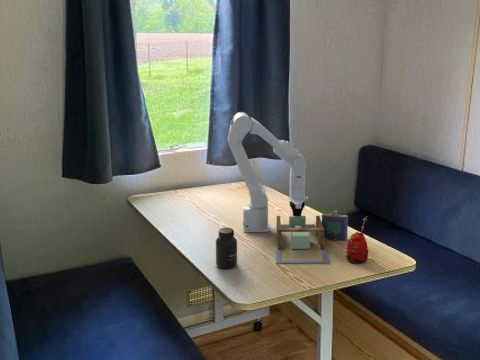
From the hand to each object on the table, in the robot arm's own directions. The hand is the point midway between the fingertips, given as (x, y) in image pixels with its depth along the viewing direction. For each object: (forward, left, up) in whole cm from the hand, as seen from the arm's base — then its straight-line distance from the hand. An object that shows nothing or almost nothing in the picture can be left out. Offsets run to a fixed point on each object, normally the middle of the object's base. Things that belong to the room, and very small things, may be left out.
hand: (296, 220), depth 202 cm
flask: (+13, -11, -3) cm, 17 cm away
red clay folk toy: (+18, -29, -3) cm, 34 cm away
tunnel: (0, -13, -3) cm, 14 cm away
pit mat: (0, -1, -3) cm, 3 cm away
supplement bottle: (-24, -33, -3) cm, 42 cm away
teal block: (0, -11, -2) cm, 11 cm away
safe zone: (0, -26, -3) cm, 27 cm away
